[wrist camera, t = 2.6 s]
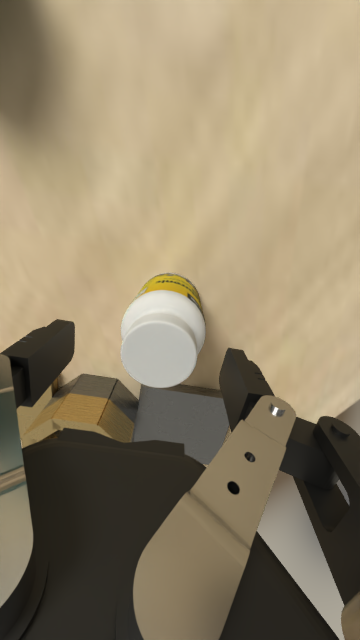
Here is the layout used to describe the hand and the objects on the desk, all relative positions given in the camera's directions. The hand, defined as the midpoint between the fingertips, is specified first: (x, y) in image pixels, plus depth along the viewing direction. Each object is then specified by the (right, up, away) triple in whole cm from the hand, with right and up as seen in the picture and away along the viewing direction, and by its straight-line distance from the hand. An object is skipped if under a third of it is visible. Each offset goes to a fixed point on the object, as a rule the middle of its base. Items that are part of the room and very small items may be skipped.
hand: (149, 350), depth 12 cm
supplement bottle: (+1, +3, +9) cm, 10 cm away
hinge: (-8, -8, +14) cm, 18 cm away
